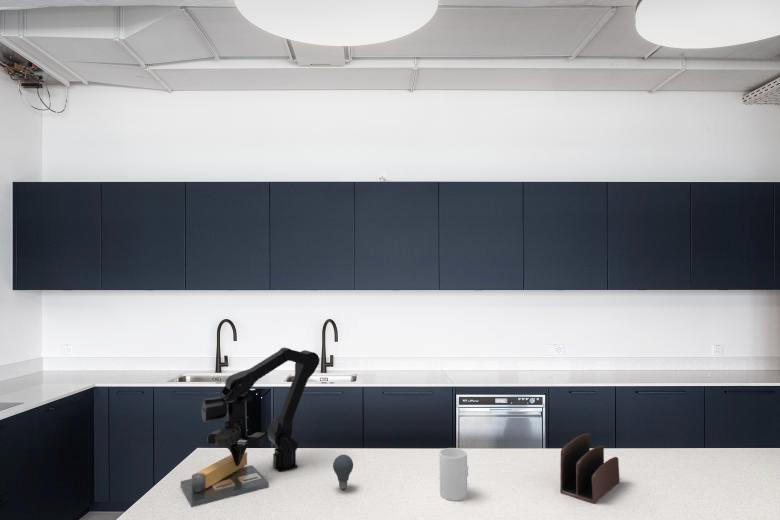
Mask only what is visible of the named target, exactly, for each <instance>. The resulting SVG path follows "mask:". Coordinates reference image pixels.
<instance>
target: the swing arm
mask: <svg viewBox="0 0 780 520" xmlns="http://www.w3.org/2000/svg"><path fill="white" fill-rule="evenodd" d="M246 466H248V452H247V451H245V453H244V455H243V458H242V460H241V463H240V465H239V466H236V464H235V461H234V459H233V456H232V454H231V453H230V454H229V455H228V456H226V457H224V458H222V459H220V460H217V461H215V462H214V463H213V464H210V465H208V466H206V467H204V468H203V469H201V470H199V471H197V472H196V473H193V474H191V479H192V491H193V492H199V491H202V490H204V489H206V488H208V487H209V486H211V485H213V484H214V483H216V482H218V481H220V480H221V479H223V478H225V477H227V476H228V475H230V474H232V473H233V472H235V471H237V470H239V469H240V468H242V467H246Z"/></svg>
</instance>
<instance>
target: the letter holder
mask: <svg viewBox="0 0 780 520" xmlns="http://www.w3.org/2000/svg"><path fill="white" fill-rule="evenodd" d="M590 436H591V435H590V433H589V432H588V433H587V432H586V433H582V434H580V435H578V436H576V437H574V438H573V439H571V440H570V441H569V442H567V443H566V444H565V445H563V446H562V448H561V449H560V464H559V465H560V468H559V469H560V474H559V475H560V490H559V492H560V494H561V495H565V496H568V497H571V498H574V499H577V500H580V501H582V502H583V501H584V502H586V503H589V504H592V505H593V504H596V503H597V502H598V501H599V500H601V499H602V498H603V497H604V496H606V494H607V493H609V492H610V491H611V490H612V489H613V488H615V487H616V486H617V485H618V484H619V483H620V466H619V465H620V464H619V457H618V456H614V457H612V458H609V459H608V460H606V461H605V456H604V455H605V454H604V453H605V449H604V448H605V447H604V446H603V445H597V446H595V447H594V448H592V449H591V448H590V447H591V437H590Z"/></svg>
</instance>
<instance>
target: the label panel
mask: <svg viewBox="0 0 780 520" xmlns="http://www.w3.org/2000/svg"><path fill="white" fill-rule="evenodd" d="M269 484H270V482H269V481H268V480H267V479H266V478H265V476H264V475H262V474H261V473H260V471H259V470H257V468H255V467H254V466H253V465H245V466H244V467H242V468H240V469H239V470H237V471H235V472H233V473H232V474H230V475H228V476H227V477H225V478H223V479H221V480H220V481H218V482H216V483H214V484H213V485H211V486H209V487H208V488H206V489H204V490H202V491H199V492H193V491H192V478H189V479H185V480H181V481H180V488H181V490H182V491H183V493H184V495H185V496H186V499H187V501H188V503H189V504H190V506H191V507H192V508H193V507H196V506H201V505H204V504H205V505H206V504H209V503H213V502H216V501H220V500H224V498H225V499H228V498H232V497H235V496H240V495H244V494H247V493H251V492H252V493H253V492H255V491H259V489H260V490H263V489H267V488H269V487H270V485H269Z"/></svg>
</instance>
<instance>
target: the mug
mask: <svg viewBox="0 0 780 520" xmlns="http://www.w3.org/2000/svg"><path fill="white" fill-rule="evenodd" d="M468 477H469V466H468V454H467V451H465V450H463V449H461V448H456V447H448V448H443V449H441V450H440V451H439V495H440V497H442V499H444V500H447V501H451V502H452V501H453V502H454V501H455V502H458V501H463V500H465V499H466V498H467V497H468V494H469V493H468V491H469V490H468Z"/></svg>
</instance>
